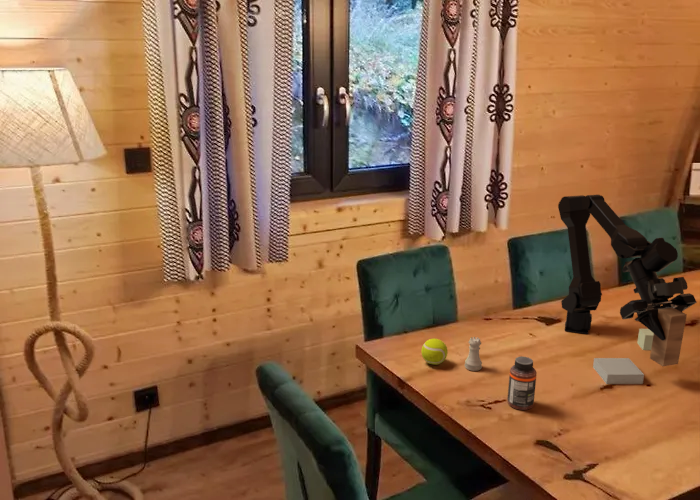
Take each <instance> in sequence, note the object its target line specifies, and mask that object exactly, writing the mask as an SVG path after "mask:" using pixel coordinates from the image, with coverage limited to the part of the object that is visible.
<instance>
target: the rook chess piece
mask: <svg viewBox="0 0 700 500" xmlns="http://www.w3.org/2000/svg"><path fill="white" fill-rule="evenodd" d="M468 344H469V346H468V348H469V351H468V356H467V358H466V359H465V361H464V367H465V369H467V371H468V370H469V371H472V372H477V371H480V370H481V369H482V368H483V366H482V364H483V362H482V360H481V358H480V350H481V347H480V346H481V345H482V342H481V338H479V337H476V336H473V337H470V339H469V341H468Z"/></svg>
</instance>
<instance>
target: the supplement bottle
mask: <svg viewBox="0 0 700 500" xmlns="http://www.w3.org/2000/svg"><path fill="white" fill-rule="evenodd" d="M536 383H537V370H536V369H535V368H534V360H533V359H532V358H530V357H528V356H522V355H521V356H517V357H516V358H515V360H514V365H512V366H511V367H510V369H509V378H508V388H507V389H508V390H507V403H508V406H510V407H511V408H513V409H517V410H519V411H526V410H529V409H532V408H533V407H534V405H535V394H536V385H537V384H536Z"/></svg>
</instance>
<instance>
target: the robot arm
mask: <svg viewBox="0 0 700 500" xmlns="http://www.w3.org/2000/svg"><path fill="white" fill-rule="evenodd" d="M557 208H558V212H559V217H560V220H561V221H562V222H563V224H564V225H565V226H566V228H567V233H568V242H569V243H568V244H569V250H570V251H569V252H570V262H571V270H572V279H571V282H570V284H569V286H568V295H567V296H565V297H563V299H562V300H560V302H561V308H562V309H563V310H565V311H566V319H565V322H564V331H565V332H569V333H575V334H585V335H589V331H591V327H592V319H593V318H592V317H593V316H592V313H591V311H597V309H598V306H599V304H600V302H601V301H602V296H603V293H602V289H601V282H600V281H599V280H598V281H597V280H596V279H595V278H594V277H593V274H592V268H591V259H590V250H589V244H588V243H589V241H588V234H587V223H588V221H589V219H590V218H591V216H592V217H593V219H594V220H595V221H596V222H597V223H598V224H599V226H600V227H601V228H602V229H603V230H604V231H605V233H607V235H608V236H609V239H610V246H611V248H612V249H613V251H614V252H615V255H616V256H617V257H618V258H620V259H632V258H633V259H632V260H630V261H629V260H628V261H625V262H624V266H623V268H622V270H621V271H622V273H629V275H630V278H631V279H632V281H633V283H634V287H635V288H634V289H633V292H634V294H638V296H639V297H640V299H632V300H629V302H627V303H625V304H624V305H623V306H621V307H620V310H619V314H620V316H621V318H622V320H630V319H632V318H634V316H635V314H636V316H637V317H635V318H634V321H636V322H639V323H640V324H642V325H643V326H644V327H645V328H646V329H649V330H651V331H652V332H653V333H654V334H655V335H656V336H657V337H659V338H660V339H661V340H662V341H663V340H665V339H666V337H665V334H664V331H663V329H662V326H661V324H660V322H659V319H658V309H666V308H675V309H677V310H679V311H681V312H683V313H684V311H685V310H687V309H689V308H690V307H692V306H693V305H695V304H697V302H698V301H697V299H696V298H695V296H694V294H692V293H684V292H685V290H688V283H687V280H686V279H685V277H684V276H681V277H680V276H679V277H673V280H672V281H670V282H669V281H668V282H666V280H665V279H664V278H663V277H662V278H661V277H660V278H659V276H658V274H657V273H659V272H661V271H663V270H665V268H667V267H668V266H670V265H671V264H673V263H674V262H675V261H676V260H677V259H678V258H679V254H678V250H677V249H676V247H674V246H673V245H672V244H671V243H670V242H668V241H666V240H665V238H664V237H655V239H654V240H653V239H652V242H650V241H649V240H648V239H647V238H646V237H645V236H644V235H643V234H642V233H641V232H639V231H638V230H636V229H634V228H632V227H629V226H628V225H626V224H625V223H624V222H623V220H622V219H621V218H620V217H619V215H618V214H617V213H616V212H615V211H614V210H613V209H612V207H610V205H609V204H608V203H607V202H606V200H605V198H604V196H603V195H601V194H587V195H583V194H582V195H568V196H567V195H566V196H562V197H561V199H560V200H559V202H558V205H557ZM675 295H676V296H675ZM674 296H675V297H674Z"/></svg>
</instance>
